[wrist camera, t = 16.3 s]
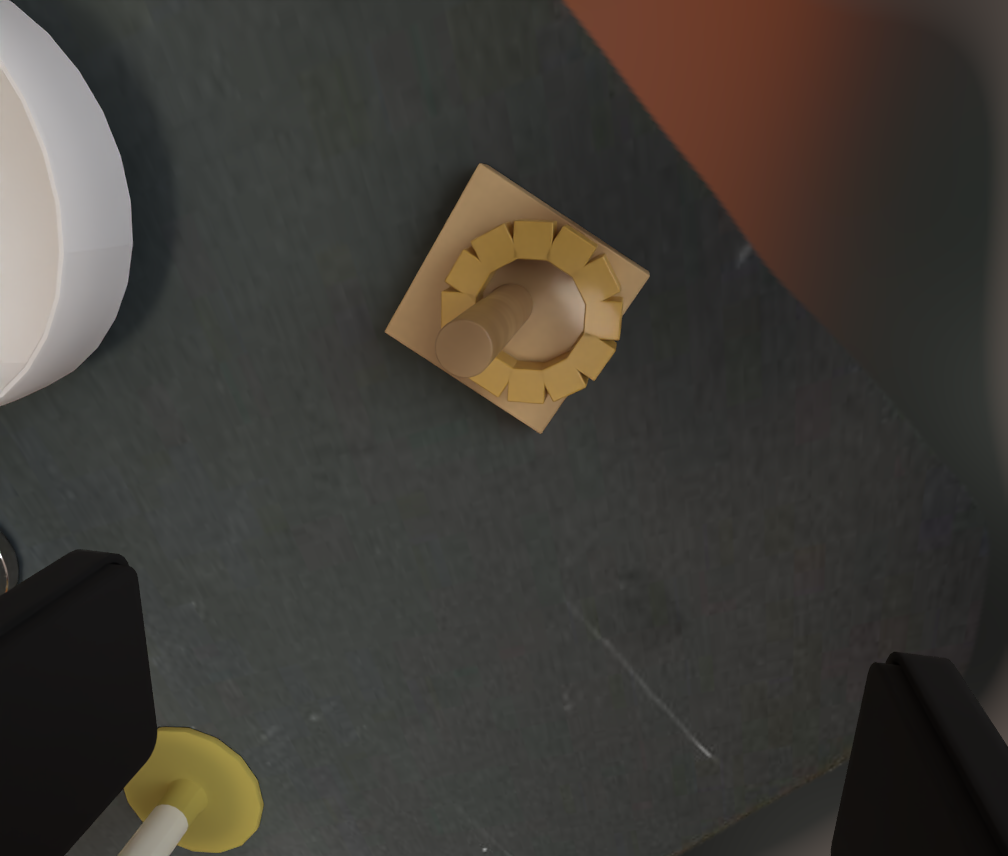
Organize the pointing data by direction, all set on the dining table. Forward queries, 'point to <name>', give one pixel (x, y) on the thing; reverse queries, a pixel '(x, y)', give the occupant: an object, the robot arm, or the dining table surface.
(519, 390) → the ring
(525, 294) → the peg stand
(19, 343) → the bowl
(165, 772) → the candle
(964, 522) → the dining table surface
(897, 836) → the robot arm
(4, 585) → the water bottle
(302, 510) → the dining table surface
